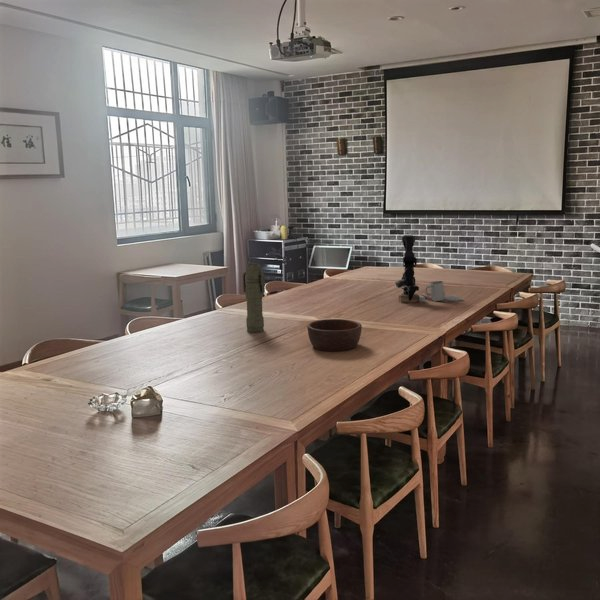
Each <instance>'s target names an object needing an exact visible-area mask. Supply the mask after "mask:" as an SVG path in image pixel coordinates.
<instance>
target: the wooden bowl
mask: <svg viewBox="0 0 600 600" xmlns="http://www.w3.org/2000/svg"><path fill="white" fill-rule="evenodd" d="M362 327H363V326H362V324H361V323H360V322H359V321H356V320H352V319H351V320H350V319H342V318H341V319H340V318H328V319H326V318H325V319H320V320H319V319H318V320H314V321H311V322H310V323H309V322H308V324H307V334H308V338H309V341H310V344H311V345H312V347H313V348H314V349H316V350H319V351H323V352H345V351H349V350H352V349H354V347H355V348H356V347H357V345H358V344H359V342H360V339H361V335H362V329H363V328H362Z"/></svg>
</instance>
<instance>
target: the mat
mask: <svg viewBox="0 0 600 600" xmlns="http://www.w3.org/2000/svg"><path fill="white" fill-rule="evenodd" d="M463 300H464V299H462V298H460V297H457V296H455V295H449V296H447V295H445V300H442V302H441V303H447V302H446V301H456V302H464V301H463Z"/></svg>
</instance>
